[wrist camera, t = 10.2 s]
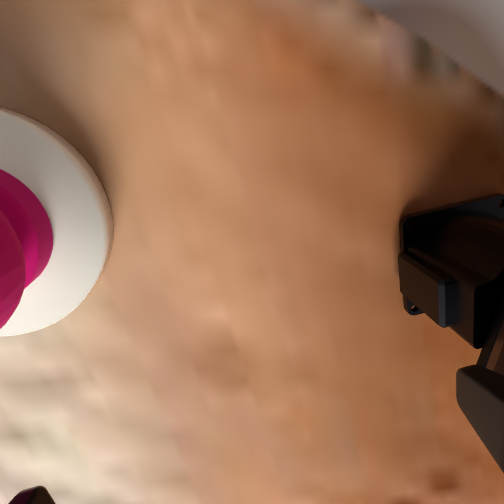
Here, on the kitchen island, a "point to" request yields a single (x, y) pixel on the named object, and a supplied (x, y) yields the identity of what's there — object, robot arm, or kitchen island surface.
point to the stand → (57, 219)
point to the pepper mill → (20, 242)
